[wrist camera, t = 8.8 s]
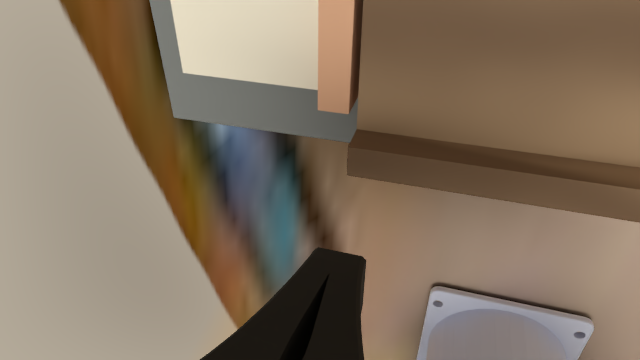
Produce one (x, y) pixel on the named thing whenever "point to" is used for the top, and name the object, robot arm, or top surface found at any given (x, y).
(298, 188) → the top surface
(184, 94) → the slate mat
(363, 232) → the top surface
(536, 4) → the walnut box
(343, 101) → the lid
